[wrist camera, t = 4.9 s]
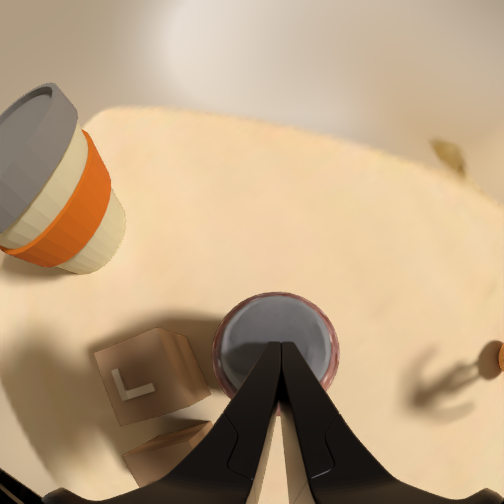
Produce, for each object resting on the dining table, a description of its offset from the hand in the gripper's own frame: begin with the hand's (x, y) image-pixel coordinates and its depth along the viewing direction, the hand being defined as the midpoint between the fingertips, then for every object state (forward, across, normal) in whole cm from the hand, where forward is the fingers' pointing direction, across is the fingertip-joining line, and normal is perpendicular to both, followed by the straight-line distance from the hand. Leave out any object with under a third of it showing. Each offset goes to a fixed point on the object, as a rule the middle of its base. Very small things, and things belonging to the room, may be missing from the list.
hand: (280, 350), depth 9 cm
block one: (+1, +6, +15) cm, 16 cm away
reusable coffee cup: (+16, +19, +2) cm, 25 cm away
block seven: (+6, +8, +10) cm, 14 cm away
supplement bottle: (+8, 0, +9) cm, 12 cm away
